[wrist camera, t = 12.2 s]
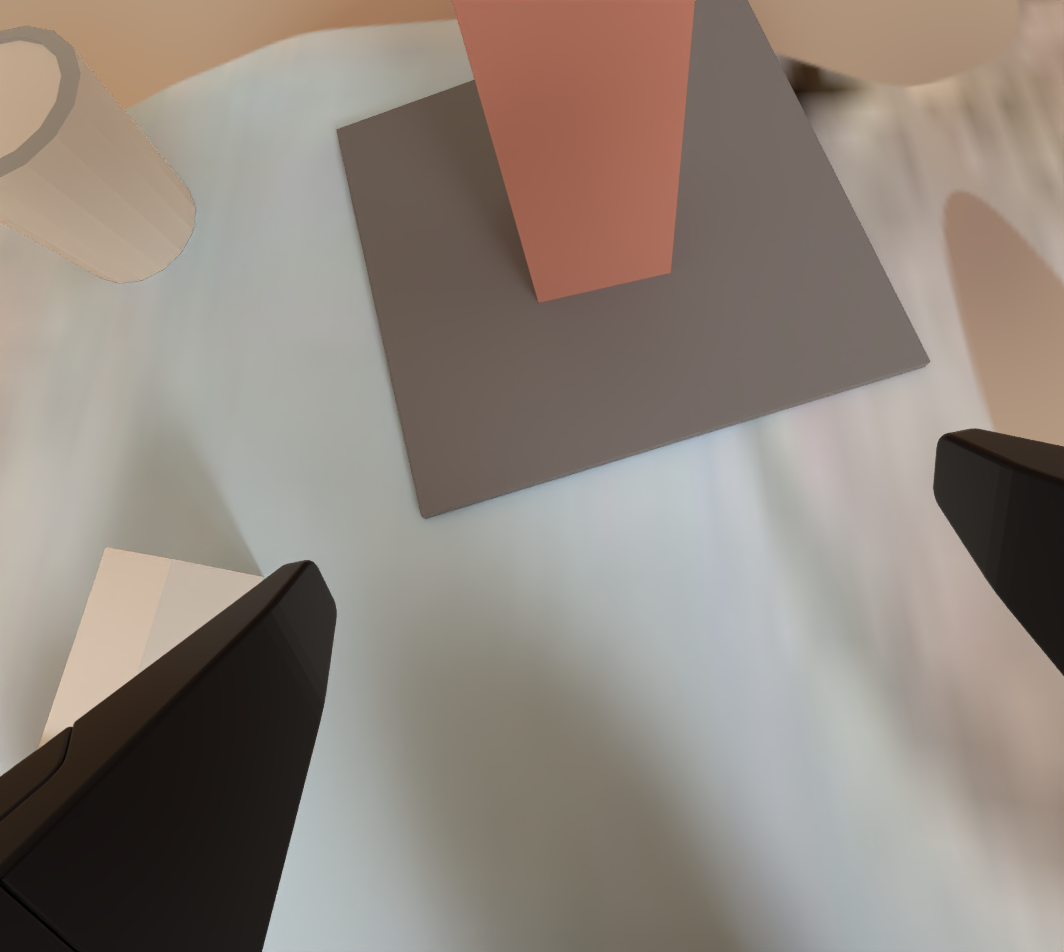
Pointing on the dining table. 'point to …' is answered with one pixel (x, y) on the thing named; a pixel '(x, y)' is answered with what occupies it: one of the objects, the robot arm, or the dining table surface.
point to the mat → (617, 286)
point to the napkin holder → (136, 624)
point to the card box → (585, 130)
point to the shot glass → (82, 165)
